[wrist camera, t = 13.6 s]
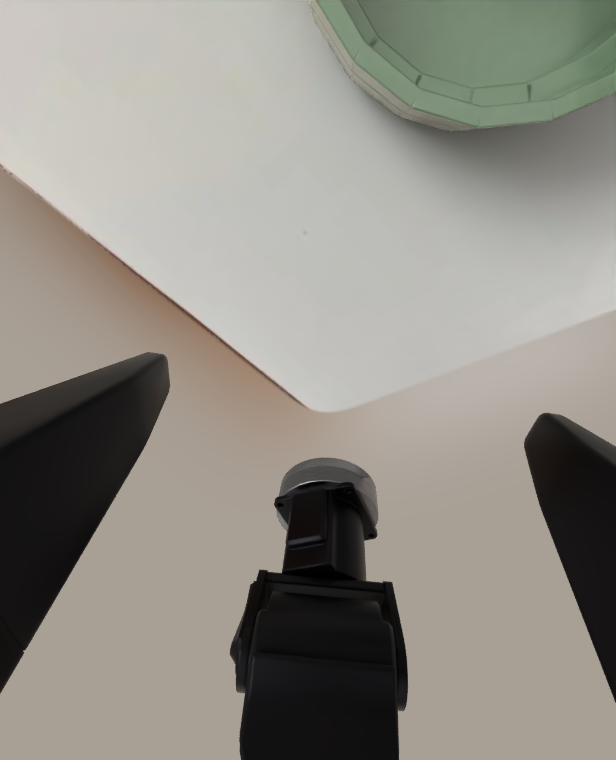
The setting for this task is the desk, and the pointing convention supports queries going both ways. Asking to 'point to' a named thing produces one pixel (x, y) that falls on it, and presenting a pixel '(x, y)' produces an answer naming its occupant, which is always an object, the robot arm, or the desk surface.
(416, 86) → the bowl
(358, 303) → the desk surface
